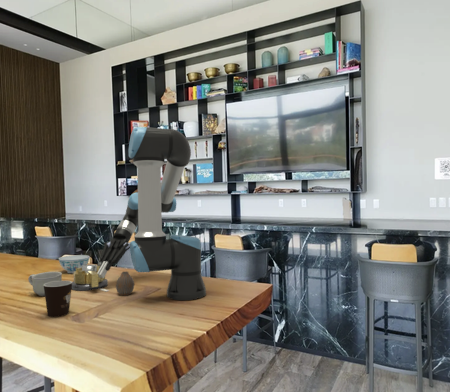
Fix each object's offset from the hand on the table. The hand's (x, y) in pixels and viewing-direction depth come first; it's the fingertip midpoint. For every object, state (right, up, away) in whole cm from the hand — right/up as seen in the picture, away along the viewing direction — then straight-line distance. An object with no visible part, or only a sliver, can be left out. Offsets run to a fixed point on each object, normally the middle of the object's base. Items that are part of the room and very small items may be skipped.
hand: (100, 276), depth 148 cm
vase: (+13, -6, -7) cm, 15 cm away
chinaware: (-27, -7, +38) cm, 47 cm away
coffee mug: (-2, -6, -30) cm, 30 cm away
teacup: (-21, -6, -5) cm, 22 cm away
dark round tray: (-7, -6, +6) cm, 11 cm away
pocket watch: (-10, -6, +23) cm, 26 cm away
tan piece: (-5, -3, +3) cm, 7 cm away
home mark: (+2, -6, -1) cm, 6 cm away
